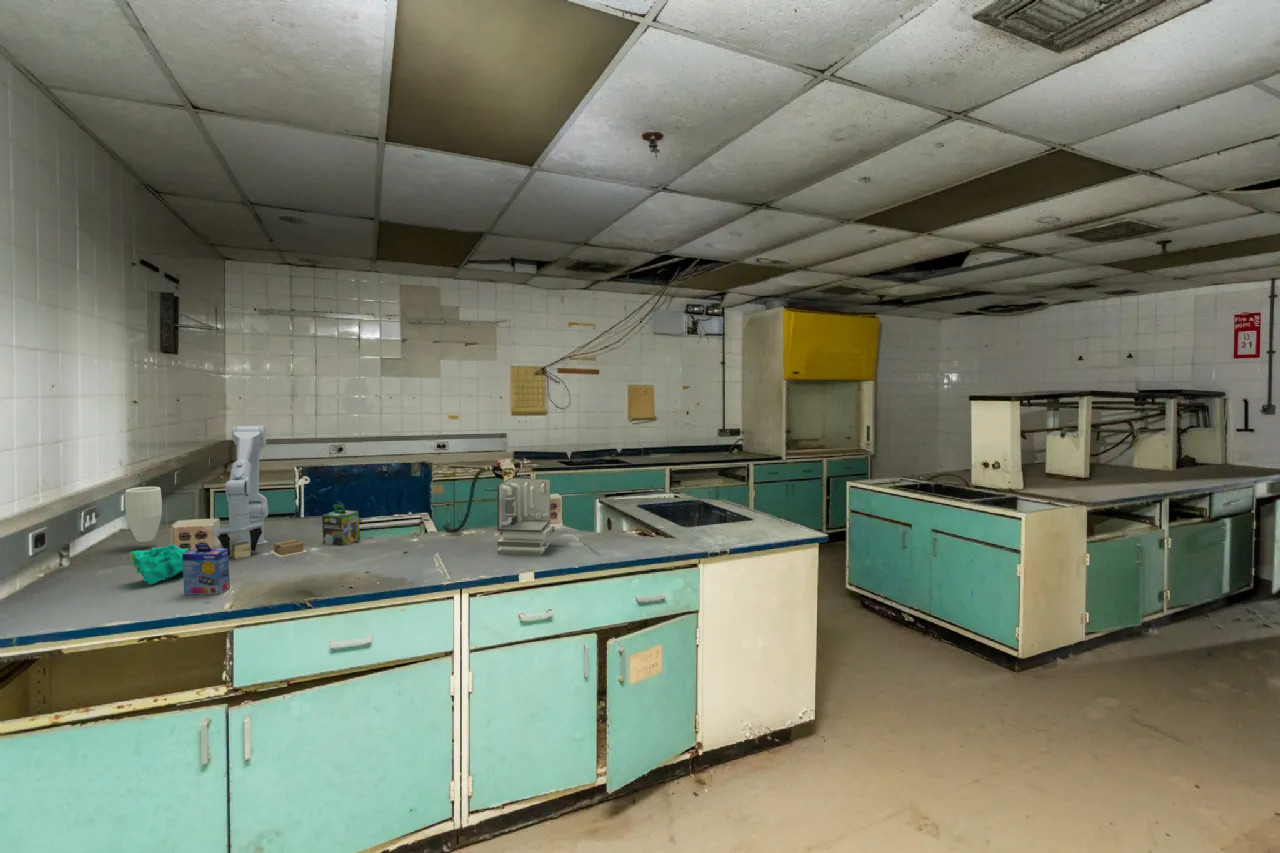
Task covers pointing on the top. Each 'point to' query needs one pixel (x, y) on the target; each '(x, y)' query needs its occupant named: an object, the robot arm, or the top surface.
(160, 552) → the teal lumpy piece
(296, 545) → the brown square wooden block
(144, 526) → the cup
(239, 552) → the maple cube
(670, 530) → the top surface
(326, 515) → the chalk box
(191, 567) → the ink cartridge box
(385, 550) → the top surface
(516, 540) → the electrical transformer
